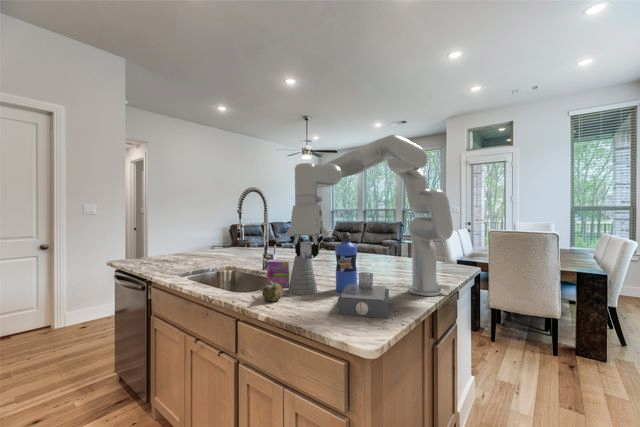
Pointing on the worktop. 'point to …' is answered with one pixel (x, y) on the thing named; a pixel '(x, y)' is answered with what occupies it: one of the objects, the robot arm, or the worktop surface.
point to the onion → (272, 291)
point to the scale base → (364, 306)
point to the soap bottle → (302, 277)
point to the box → (279, 272)
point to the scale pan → (364, 292)
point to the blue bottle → (345, 263)
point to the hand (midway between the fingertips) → (307, 255)
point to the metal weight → (365, 280)
